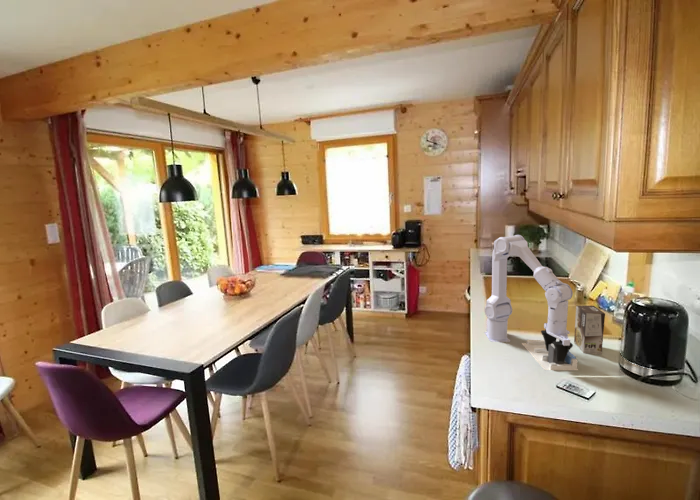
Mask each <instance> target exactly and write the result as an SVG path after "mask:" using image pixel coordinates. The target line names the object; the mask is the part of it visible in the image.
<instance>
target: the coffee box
mask: <svg viewBox="0 0 700 500" xmlns="http://www.w3.org/2000/svg"><path fill="white" fill-rule="evenodd" d="M605 316H606V313H605V312H604V311H602V310H601V309H599V308H598V307H596V306H595V305H576V306H575V320H574V321H575V323H574V337H573V338H574V340H573V344H574V345H575V346H576V347H577V348H578V349H579V350H580V351H581V352H582V353H583V354H590V355H591V354H593V355H595V354H596V355H598V354H599V355H602V353H603V344H604V343H603V342H604V341H603V340H604V333H605V332H604V330H605V322H606V321H605V319H606V317H605Z"/></svg>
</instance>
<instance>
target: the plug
mask: <svg viewBox="0 0 700 500" xmlns="http://www.w3.org/2000/svg"><path fill="white" fill-rule="evenodd" d="M548 362H549V363H556V364H564V363H565V360H564V362H558V361H557V359H556V350H555V347H554V344H549V348H548Z"/></svg>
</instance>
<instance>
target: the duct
mask: <svg viewBox="0 0 700 500" xmlns="http://www.w3.org/2000/svg"><path fill="white" fill-rule="evenodd" d="M521 344H522V346H523V347H524V348H525V349H526V350H527V352H528V353H529V354H531V356H532V357H533V359H535V361H536V363H538V364H539V366H540V367H542V369H543V370H544V371H579V369H578V359H577V356H575V355H574V354H573V353H572V352H570V350H569V351H568V353H567V355H566V358H565V363H564V364H556V363H549V362H548V351H547V350H546V345H545V340H544V339H527V340H526V342H521Z"/></svg>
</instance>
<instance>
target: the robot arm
mask: <svg viewBox="0 0 700 500" xmlns="http://www.w3.org/2000/svg"><path fill="white" fill-rule="evenodd" d="M528 245H529V244H528V241H527V240H526V239H525V237H524V236H522V235H521V234H515V235H510V236H500V237H498V238H496V239H495V240H494V241H493V250H492V253H491V254H492V255H491V256H492V257H491V268H492V269H491V296H489V298H487V299H486V303H485V307H484V315H485V316H486V317H487V319H486V331H484V332H483V333H484V335H485V336H486V337H487V339H488V340H489V341H490V342H492V343H493V342H495V343H499V342H500V343H501V342H502V343H503V342H505V343H506V342H507V343H508V342H511V339H510V338H509V337H508V322H509V321H508V319H510V316H511V315H512V313H513V306H512V304H511V303H512V302H511V301H512V300H511V298H509V297H508V295H507V285H508V283H507V282H508V280H507V279H508V258H509V257H510V256H514V257H518V258H520V259H521V260H522V261H523V263H525V264H526V266H527V267H529V269H530V270H532V272H533V275H532V276H533V278H534V280H535V281H536V282H537V283H538V284H539V285H540V287H542V289H543V291H545V292H544V296H545V299H546V301H547V306H548V307H547V308H548V309H547V312H548V313H547V322H544V323H543V328H544V329H543V330H540V333H541V335H542V337H543V340H545V345H546V350H547V351H548V348H549V344H554V347H555V350H556V359H557V361H558V362H564V360H565V358H566V355H567V353H568V351H569V352H570V350H571V349H572V348H573V346H574V345H573V344H574V343H572V342H571V339H570V338H569V335H570V334H571V333H570V331H569V330H568V329H567V326H568V325H567V324H568V313H569V311H568V310H569V309H568V308H569V300H571V299H572V297H573V289H572V288H571V285H569V284H568V283H565V282H562V281H561V280H560V279H559V278H558V277H557V276H556V275H555V274H554V273H553V269H551V268H549V267H548V266H543V265H542V263H541V262H540V261H539V260H538V258H537V257H536V255H535V254H534V253H533V252H532V250H531V249H530V247H529V246H528ZM557 339H558V340H557Z"/></svg>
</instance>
